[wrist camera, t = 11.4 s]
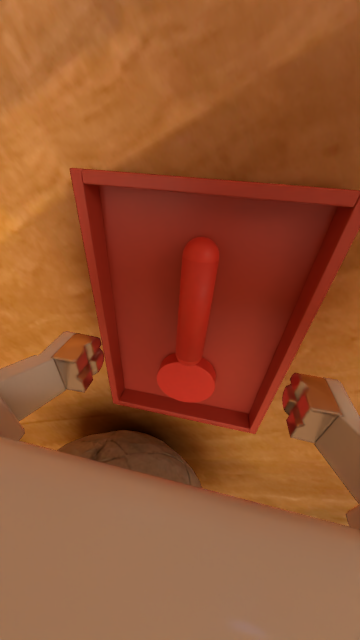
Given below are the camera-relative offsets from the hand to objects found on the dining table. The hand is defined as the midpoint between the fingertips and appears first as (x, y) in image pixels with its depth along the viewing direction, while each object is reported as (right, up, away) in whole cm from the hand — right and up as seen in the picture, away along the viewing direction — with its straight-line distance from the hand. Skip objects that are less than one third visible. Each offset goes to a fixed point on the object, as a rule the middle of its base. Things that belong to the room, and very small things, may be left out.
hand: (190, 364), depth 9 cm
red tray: (+1, +2, +7) cm, 7 cm away
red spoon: (+1, +1, +6) cm, 7 cm away
